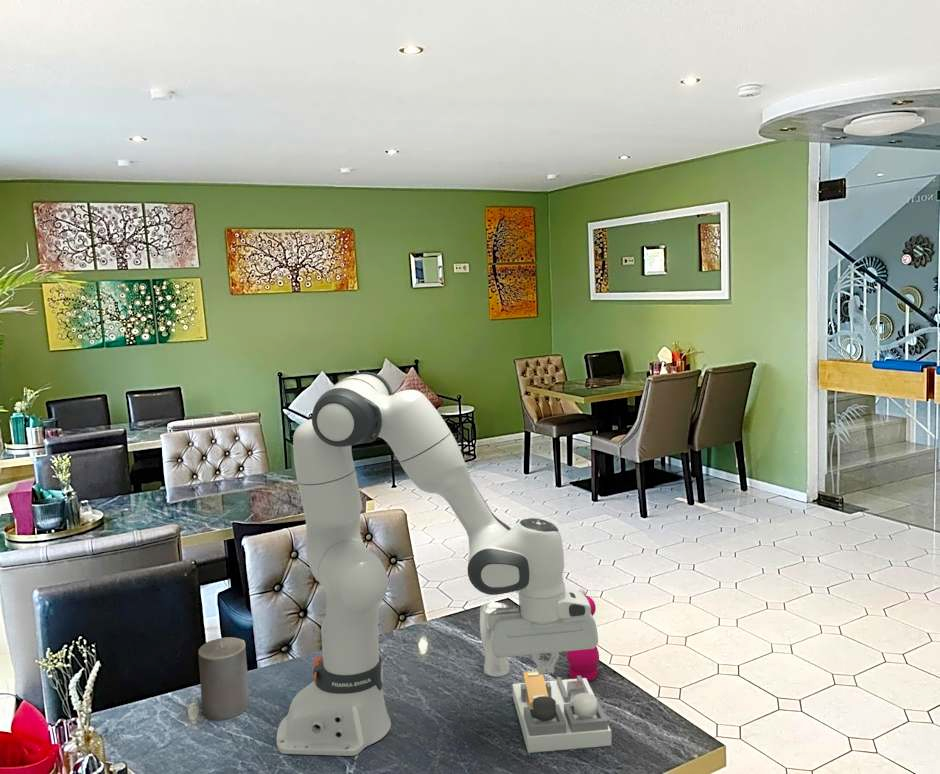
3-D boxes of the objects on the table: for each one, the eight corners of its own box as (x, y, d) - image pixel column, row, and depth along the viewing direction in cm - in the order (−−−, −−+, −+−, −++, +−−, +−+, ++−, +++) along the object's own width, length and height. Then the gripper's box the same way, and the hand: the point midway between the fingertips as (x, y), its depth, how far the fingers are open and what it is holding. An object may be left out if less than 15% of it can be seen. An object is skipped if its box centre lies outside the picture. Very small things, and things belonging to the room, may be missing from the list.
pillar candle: (194, 709, 163) (188, 643, 161) (235, 690, 170) (230, 627, 168) (217, 726, 156) (211, 657, 154) (259, 706, 163) (254, 640, 161)
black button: (535, 721, 144) (534, 709, 144) (531, 709, 149) (531, 697, 149) (558, 719, 145) (557, 707, 145) (553, 707, 149) (553, 695, 149)
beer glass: (517, 667, 176) (515, 605, 174) (502, 680, 170) (500, 616, 168) (491, 660, 179) (489, 599, 178) (475, 673, 174) (473, 610, 172)
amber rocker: (529, 706, 153) (529, 701, 152) (523, 676, 160) (523, 670, 159) (549, 705, 153) (549, 699, 152) (542, 674, 160) (542, 669, 160)
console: (528, 752, 143) (527, 723, 142) (512, 697, 163) (512, 671, 162) (611, 745, 145) (611, 716, 144) (586, 691, 164) (585, 665, 164)
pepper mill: (598, 684, 167) (597, 596, 165) (565, 681, 169) (563, 595, 166) (600, 667, 174) (598, 584, 172) (568, 665, 176) (566, 582, 173)
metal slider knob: (570, 703, 154) (570, 689, 154) (567, 695, 157) (567, 681, 157) (585, 701, 154) (584, 687, 154) (581, 694, 157) (581, 680, 157)
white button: (576, 718, 145) (576, 706, 145) (571, 705, 150) (571, 693, 149) (599, 716, 146) (599, 704, 145) (593, 704, 150) (593, 692, 150)
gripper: (489, 616, 140) (493, 686, 142) (599, 605, 141) (601, 675, 143) (486, 602, 146) (490, 669, 148) (590, 592, 148) (593, 659, 150)
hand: (545, 672), depth 146 cm, fingers closed
